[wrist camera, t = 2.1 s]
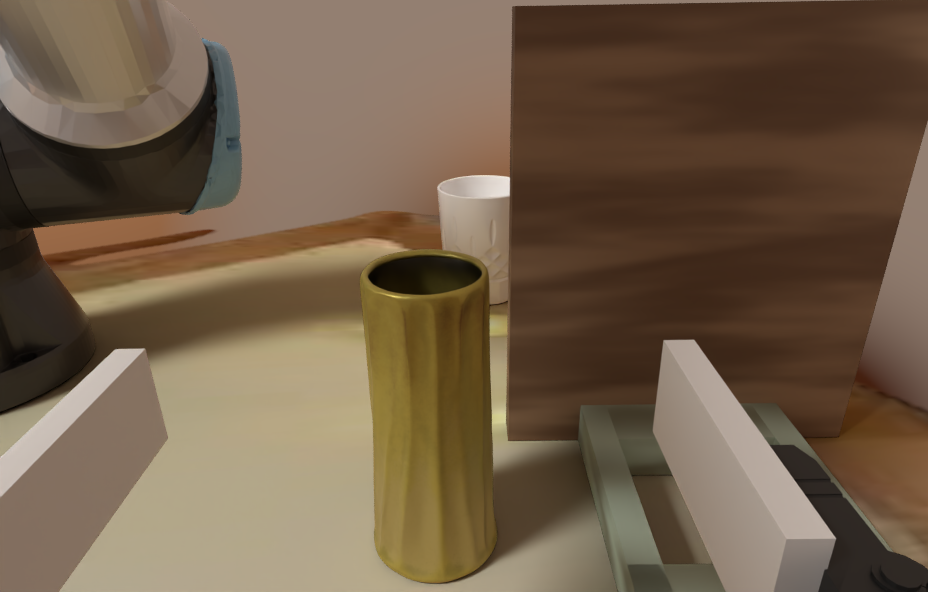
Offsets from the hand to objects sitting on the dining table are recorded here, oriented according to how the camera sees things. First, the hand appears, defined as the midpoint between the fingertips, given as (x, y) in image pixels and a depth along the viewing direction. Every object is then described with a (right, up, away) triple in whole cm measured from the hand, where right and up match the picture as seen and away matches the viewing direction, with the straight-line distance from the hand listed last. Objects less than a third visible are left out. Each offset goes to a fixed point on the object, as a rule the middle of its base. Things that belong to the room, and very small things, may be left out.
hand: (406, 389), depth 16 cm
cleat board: (+14, -9, +17) cm, 24 cm away
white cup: (+3, +3, +43) cm, 43 cm away
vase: (0, -10, +15) cm, 18 cm away
